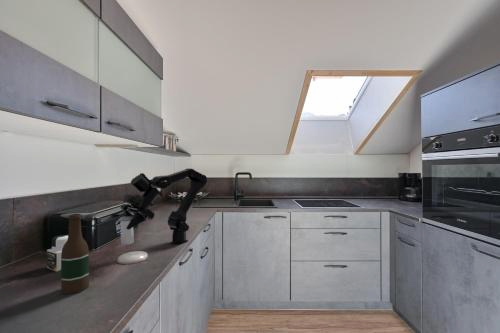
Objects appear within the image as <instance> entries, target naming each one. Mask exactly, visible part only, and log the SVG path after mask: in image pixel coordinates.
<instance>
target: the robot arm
mask: <svg viewBox="0 0 500 333" xmlns="http://www.w3.org/2000/svg"><path fill="white" fill-rule="evenodd" d="M187 178H188V180H190V184H189V185H190V186H189V189H188V190H187V192H186V194H185V195H184V198H183V199H182V201H181V203H180V205H179V206H178V208H177V210H175V211H174V210H172V211H171V212H170V215H169V216H168V217H167V225H168V226H169V229H170V230H171V231H172V241H170V244H176V245H182V244H185V243H187V242H188V241H189V239H187V232H188V231H189V229H190V226H189V224H188V223H186V222H187V213H188V211H189V209H190V208H191V205H192V204H193V202H194V201H195V198H196V196H197V195H198V193H199V192H200V190H202V189H203V188H204V187H205V186H206V184H207V183H208V178H207V176H206V174H203V173H201V172H198V171H197V170H196V169H194V168H185V169H183V170H179V171H177V172H173V173H171V174H168V175H159V176H158V175H157V176H154V177H153V178H151V179H149V177H147V175H146V174H145V173H142V172H141V173H139V174H138V175H136V176H135V177H133V178H132V179H131V181H130V185H131V186H133V187H134V188H135V189H136V190H137V191H138V192H139V193H142V195H139V194H137V193H135V194H134V195H131V194H125V195H124V197H123V200H122V203H123V202H124V204H121V206H120V207H119V209H121V210H122V212H123V214H124V215H123V217H124V216H133V218H132V220H131V221H130V223H129V224H128V226H127V228H126V229H128V230H129V229H131V228H132V227H133V228H134V227H136V226H137V225H139V224H141V223H143V222H146V221H147V220H148V221H149V220H150V221H152V220H153V219H154V218H155V212H154V211H152V210H151V209H150V207H153V205H154V204H153V202H154V201H155V200H156V199H157V197H160V198H162V197H163V196H164V195H163V191H162V190H165V189H167V188H169V187H170V186H171V185H172V184H174V183H175V182H178V181H182V180H184V179H187ZM159 189H161V190H159ZM119 227H120V228H121V224H120V225H119Z"/></svg>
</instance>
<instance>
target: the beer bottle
mask: <svg viewBox="0 0 500 333" xmlns="http://www.w3.org/2000/svg"><path fill="white" fill-rule="evenodd" d="M67 219H68V220H69V221H68V234H67V235H68V240H67V241H66V243H65V244H64V246H63V249H62V253H61V270H60V273H61V274H60V275H61V276H60V278H61V279H60V280H61V283H60V285H61V286H60V287H61V294H62V295H69V296H71V295H75V294H80V293H82V292H83V291H85V290H88V289H89V287H90V252H89V246H88V243H87V241H86V240H85V239H84V238H83V233H82V222H81V221H82V220H81V219H82V214H81V213H72V214H68V218H67Z"/></svg>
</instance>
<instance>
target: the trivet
mask: <svg viewBox="0 0 500 333" xmlns="http://www.w3.org/2000/svg"><path fill="white" fill-rule="evenodd" d="M148 258H149V254H148V253H147V252H146V251H141V250H139V251H136V250H135V251H129V252H125V253H123V254H121V255H119V257H118V258H117V260H116V262H117V263H118V264H121V265H132V264H133V265H134V264H137V263H141V262H144V261H146V260H148Z"/></svg>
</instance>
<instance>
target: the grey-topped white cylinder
mask: <svg viewBox="0 0 500 333" xmlns="http://www.w3.org/2000/svg"><path fill="white" fill-rule="evenodd" d="M132 218H133V216H124V215H123V216H121V217H120V218H119V219H120V225H121V227H120V244H121V245H123V246H126V245H131V244H133V243H134V241H135V240H134V239H135V238H134V237H135V236H134V227H132V228H131V229H129V230H128V229H126V228H127V226H128V224H129V223H130V221H131V220H132Z"/></svg>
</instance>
